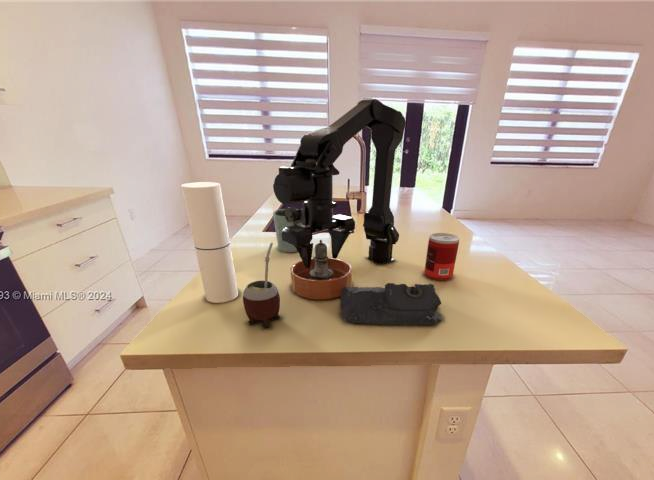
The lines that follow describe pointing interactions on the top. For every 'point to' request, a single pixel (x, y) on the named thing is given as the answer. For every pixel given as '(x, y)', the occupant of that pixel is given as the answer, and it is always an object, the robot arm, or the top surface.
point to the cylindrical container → (211, 240)
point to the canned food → (441, 256)
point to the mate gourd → (262, 299)
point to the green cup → (279, 226)
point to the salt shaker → (321, 263)
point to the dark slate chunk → (391, 305)
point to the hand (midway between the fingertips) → (321, 263)
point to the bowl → (321, 288)
